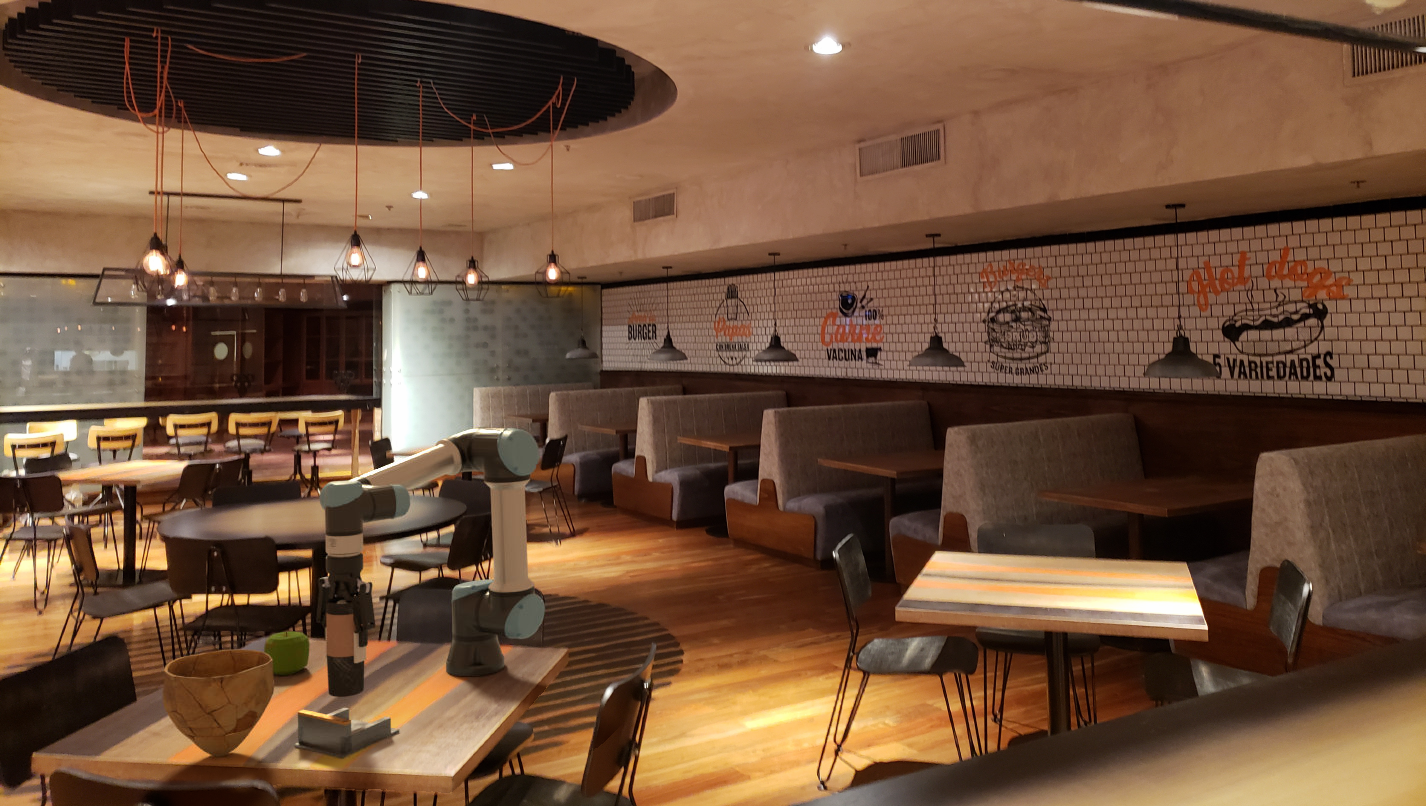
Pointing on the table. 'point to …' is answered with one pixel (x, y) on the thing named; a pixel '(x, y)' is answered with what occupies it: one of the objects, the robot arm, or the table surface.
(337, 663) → the travel mug
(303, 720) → the grey holder
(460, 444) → the robot arm
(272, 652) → the apple
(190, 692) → the bowl
